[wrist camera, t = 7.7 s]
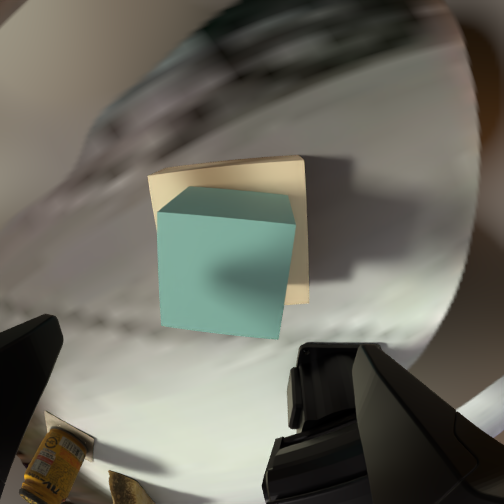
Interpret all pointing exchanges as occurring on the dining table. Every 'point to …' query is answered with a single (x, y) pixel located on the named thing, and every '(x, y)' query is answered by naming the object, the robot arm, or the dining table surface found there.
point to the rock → (127, 490)
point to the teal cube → (225, 261)
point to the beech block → (249, 179)
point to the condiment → (56, 463)
